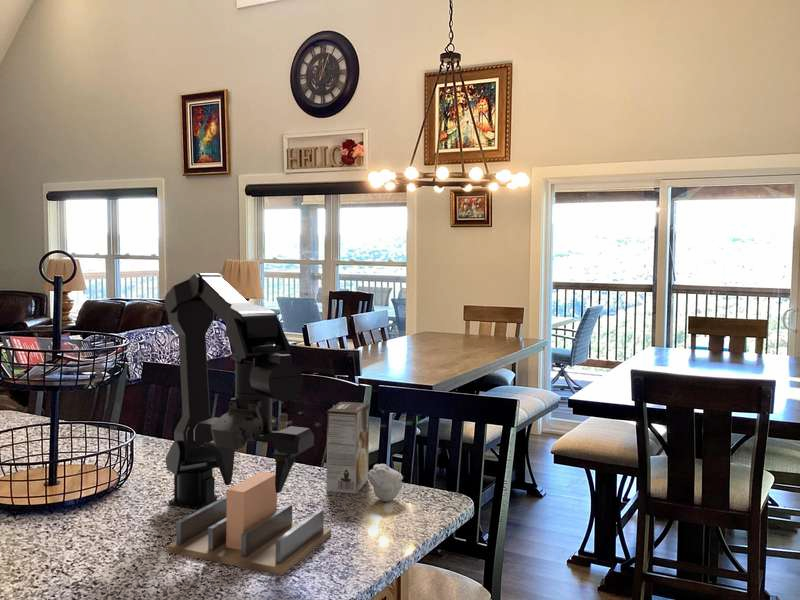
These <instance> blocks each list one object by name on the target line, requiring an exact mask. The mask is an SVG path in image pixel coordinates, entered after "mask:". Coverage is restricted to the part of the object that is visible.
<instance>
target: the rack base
mask: <svg viewBox="0 0 800 600" xmlns="http://www.w3.org/2000/svg"><path fill="white" fill-rule="evenodd" d="M297 524H299V522H298V523H296V522H292V526H290V527H289V528H287V529H286V530H284V531H283V532H282V533H280V534H279V535H277V536H276V537H275V538H273V539H272V540H270V541H269V542H267V543H266V544H265V545H263V546H262V547H260V548H259V549H258V550H256V551H255V552H253V553H252V554H250V555H249V556H248V557H246V558H244V557H241V550H239V549H233V548H228V547H226V543H225V544H223V545H222V546H220V547H219V548H217V549H216V550H214V551H209V550H208V529H207V530H206V531H204V532H202V533H201V534H199V535H197V536H195V537H194V538H192V539H190V540H189V541H187V542H185V543H183V544H182V545H178V544H176V540H174V541H173V542H172V543H170V544H168V545H167V547H166V548H167V549H166V550H167V553H170V554H176V555H180V556H184V557H189V558H194V559H195V558H196V559H200V560H205V561H210V562H216V563H219V564H220V563H221V564H225V565H228V566H229V565H230V566H236V567H240V568H243V569H244V568H246V569H250V570H255V571H261V572H266V573H270V574H275V575H280V576H283V575H284V574H286V573H287V571H289V570H290V569H292V567H294V566H295V565H297V564H298V563H299V562H300V561H301V560H303V559H304V558H305V557H307V555H309V554H311V552H313V550H315V549H316V548H317V547H318V546H319V545H321V544H322V543H323V542H324V541H326V540H327V539H328V538H329V537H330V536H331V535H332V529H331V528H325V527H324V530H323V531H322V532H321V533H320V534H318V535H317V536H316V537H315V538H313V539H312V540H311V541H309V542H308V543H307V544H306V545H304V546H303V547H302V548H301V549H299V550H298V551H297V552H295V553H294V554H293V555H292V556H290V557H289V558H288V559H287V560H285V561H284V562H283V563H281V564H275V555H276V539H278V538H279V537H281V536H282V535H283V534H285V533H286V532H288V531H289V530H290V529H292V528H293V527H295V526H296V525H297Z"/></svg>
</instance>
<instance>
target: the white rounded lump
mask: <svg viewBox="0 0 800 600" xmlns="http://www.w3.org/2000/svg"><path fill="white" fill-rule="evenodd" d="M367 473H368V480H367V481H368V482H369V483H370V485H371V486H372V488H373V494H374V495H375V497H376V498H377V499H379V500H380V501H382V502H391V501H394V500H395V499H396V498H397V497H398V495H399V493H400V491H401V490H402V486H403V481H402V480H403V479H404V476H403V475H402V474H401V473H400V472H399V471H397V470H395V469H393V468H391V467H389V466H388V465H387V464H385V463H380V464H379V463H375V464H374V465H373V467H372V469H370V470H368V472H367Z"/></svg>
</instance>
